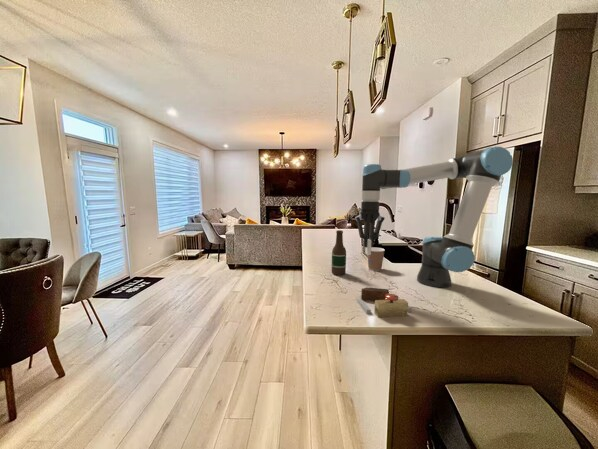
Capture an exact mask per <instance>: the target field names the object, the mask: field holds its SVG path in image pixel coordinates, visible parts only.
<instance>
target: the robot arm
mask: <svg viewBox="0 0 598 449" xmlns="http://www.w3.org/2000/svg"><path fill="white" fill-rule="evenodd" d="M513 159H514V158H513V156H512V155H511V152H510V151H509V150H508V149H507V148H506V147H502V146H493V147H491V146H489V147H486V148H484V149H480V150H476V151H472V152H470V153H469V152H468V153H466V154H464V155H461V156H457V157H454V158H449V159H448V160H447V161H445V162H444V161H443V162H438V163H432V164H428V165H421V166H415V167H411V168H405V169H382V164H378V163H373V164H371V163H370V164H369V163H368V164H365V165H364V166H363V168H362V179H361V181H362V182H361V184H362V186H361V187H362V189H361V200H362V201H361V203H360V204H361V205H360V207H361V208H360V212H359V215H357V216H354V220H355V221H356V225H357V228H358V235H359V238H361V239H363V247H364V248H365V250H364V251H365V252H364V254H366V255H367V256H368V255H371V247H374V241H375V240H376V239H378V238H379V235H380V230H381V228H382V224H383V222H384V220H385V217H384V216H382V215H381V214H380V202H379V201H380V199H381V189H382V190H385V189H392V188H393V189H394V188H398V189H399V188H400V189H402V188H404V189H405V188H407V187H409V185H413V184H420V183H424V182H425V183H426V182H431V181H437V180H444V179H449V180H455V179H456V180H457V179H466V180H467V185H466V187H465V190H464V193H463V196H462V198H461V201H460V203H459V206H458V209H457V211H456V214H455V217H454V219H453V221H452V225H451V227H450V230H449V232H448V233H447V234H446V235H444V236H425V237H424V238H423V241H422V250H421V251H422V252H421V253H422V256H421V267H420V268H419V271H418V274H417V275H416V281H417V282H418V283H420V284H422V285H426V286H429V287H434V288H449V287H451V286H452V279H451V274H450V271H451V272H453V273H463V272H465V271H467V270H469V269H471V268H472V266H473V265H474V263H475V260H476V256H475V255H474V252H473V249H474V243H473V241H472V239H473V237H474V234H475V231H476V228H477V226H478V224H479V221H480V219H481V217H482V213H483V210H484V208H485V206H486V203H487V200H488V198H489V195H490V193H491V191H492V188H493V186H495V185H497V184H499V182H500V179H501V177H502V176H503V175H505V174H507V173H508V172H509V171H510V170H511V169H512V166H513V163H514V160H513ZM362 220H363V223H362Z"/></svg>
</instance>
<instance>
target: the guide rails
mask: <svg viewBox="0 0 598 449" xmlns="http://www.w3.org/2000/svg"><path fill="white" fill-rule="evenodd" d="M398 299H400V298H399V297H398ZM356 302H357V304H358V305H359V306H360V307H361V309H362V310H363V311H364V313H365V314H367V315H368V314H371V312H372V310H371V309H370V307H369V306H368V305H367V304H366V302H365V300H362V299H361V298H357V299H356ZM411 311H412V307H411V306H410V305H408V313H411Z"/></svg>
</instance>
